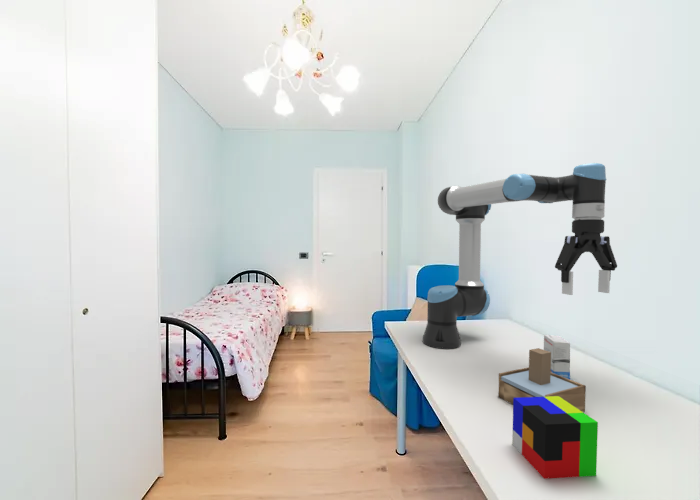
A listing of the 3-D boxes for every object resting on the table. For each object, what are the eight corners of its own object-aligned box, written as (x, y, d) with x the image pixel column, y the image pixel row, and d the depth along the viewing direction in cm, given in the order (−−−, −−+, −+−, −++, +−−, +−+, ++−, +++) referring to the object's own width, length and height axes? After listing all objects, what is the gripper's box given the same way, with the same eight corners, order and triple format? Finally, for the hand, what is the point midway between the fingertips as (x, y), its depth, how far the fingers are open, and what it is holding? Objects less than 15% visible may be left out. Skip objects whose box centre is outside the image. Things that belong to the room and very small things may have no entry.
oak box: (498, 396, 90) (498, 373, 90) (534, 388, 96) (534, 365, 96) (546, 423, 77) (547, 395, 77) (584, 411, 83) (585, 385, 83)
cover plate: (501, 379, 89) (501, 346, 89) (535, 372, 95) (536, 341, 94) (543, 400, 78) (544, 362, 78) (580, 390, 83) (581, 355, 83)
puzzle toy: (512, 444, 69) (513, 397, 69) (557, 442, 70) (558, 396, 70) (544, 479, 59) (545, 424, 59) (596, 476, 60) (597, 422, 60)
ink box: (570, 381, 101) (571, 343, 100) (552, 379, 102) (553, 341, 101) (558, 370, 109) (559, 335, 109) (542, 369, 110) (543, 334, 110)
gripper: (565, 217, 88) (563, 297, 88) (634, 219, 94) (631, 293, 95) (541, 219, 95) (539, 292, 95) (607, 220, 101) (605, 289, 102)
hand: (585, 293), depth 95 cm, fingers open, 13 cm apart
